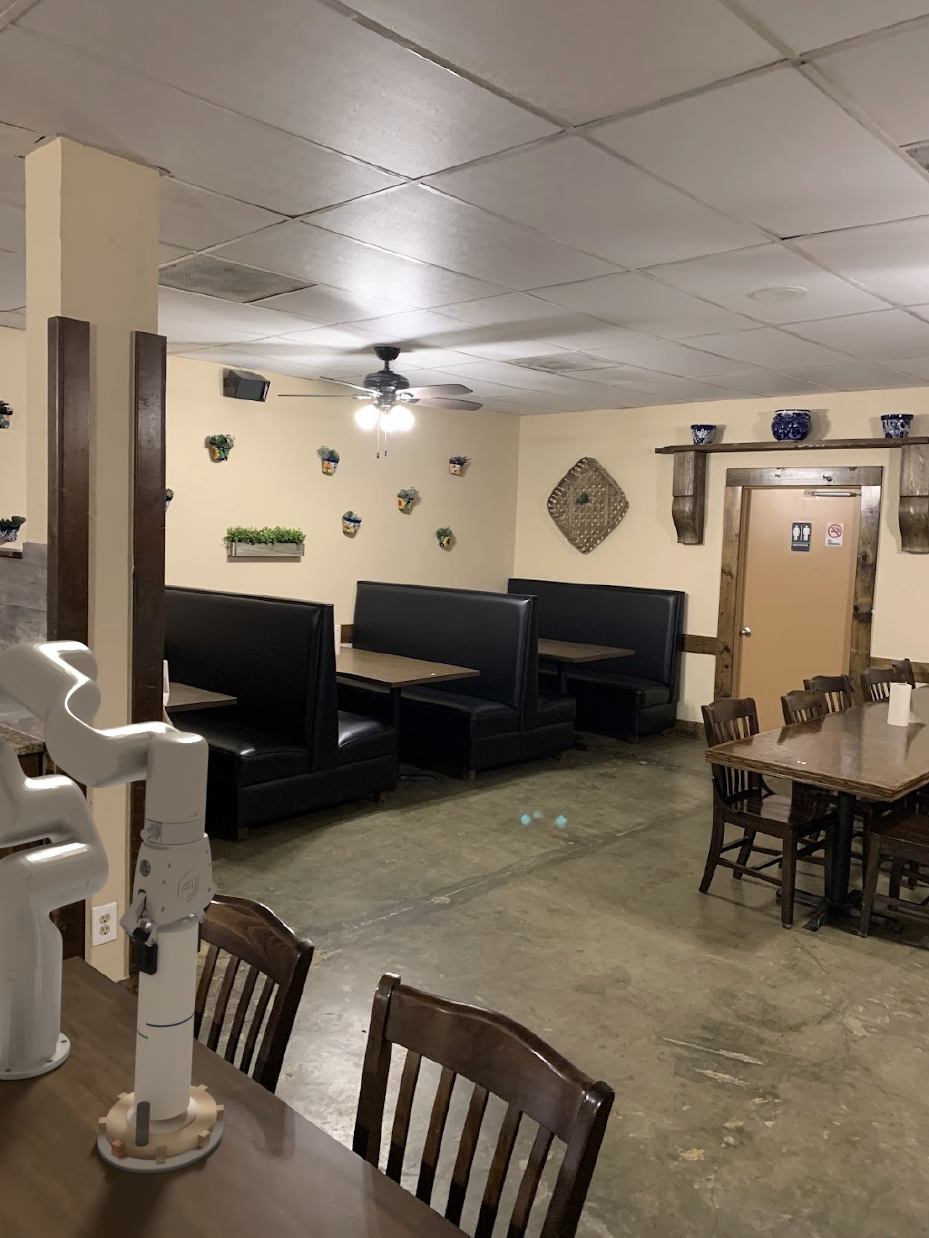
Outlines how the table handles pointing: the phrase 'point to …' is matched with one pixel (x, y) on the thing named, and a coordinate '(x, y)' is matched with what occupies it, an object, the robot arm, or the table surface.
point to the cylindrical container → (167, 1022)
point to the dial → (160, 1127)
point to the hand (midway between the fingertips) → (168, 959)
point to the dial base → (150, 1164)
